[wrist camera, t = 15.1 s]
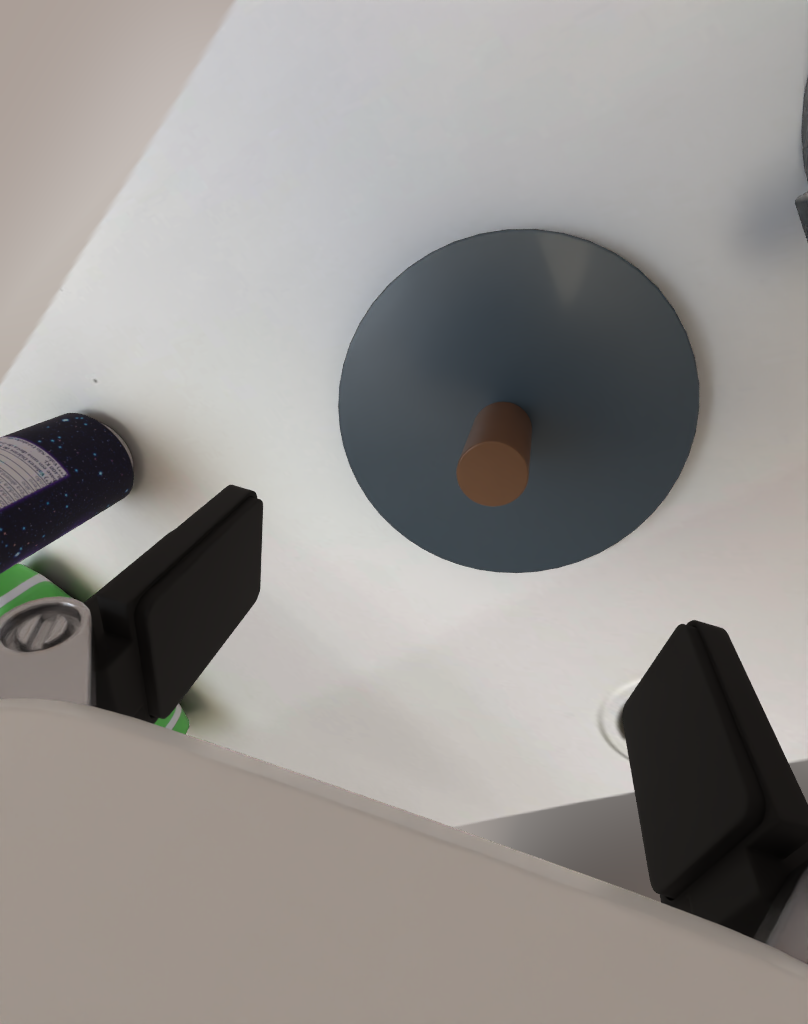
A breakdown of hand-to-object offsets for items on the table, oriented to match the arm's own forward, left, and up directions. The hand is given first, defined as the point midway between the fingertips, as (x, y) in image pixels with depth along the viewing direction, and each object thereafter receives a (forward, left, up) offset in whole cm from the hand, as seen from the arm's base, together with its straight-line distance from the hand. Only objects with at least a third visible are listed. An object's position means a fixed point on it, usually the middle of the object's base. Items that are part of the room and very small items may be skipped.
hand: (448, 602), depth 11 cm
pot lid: (0, 0, -13) cm, 13 cm away
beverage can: (-10, -22, -14) cm, 28 cm away
